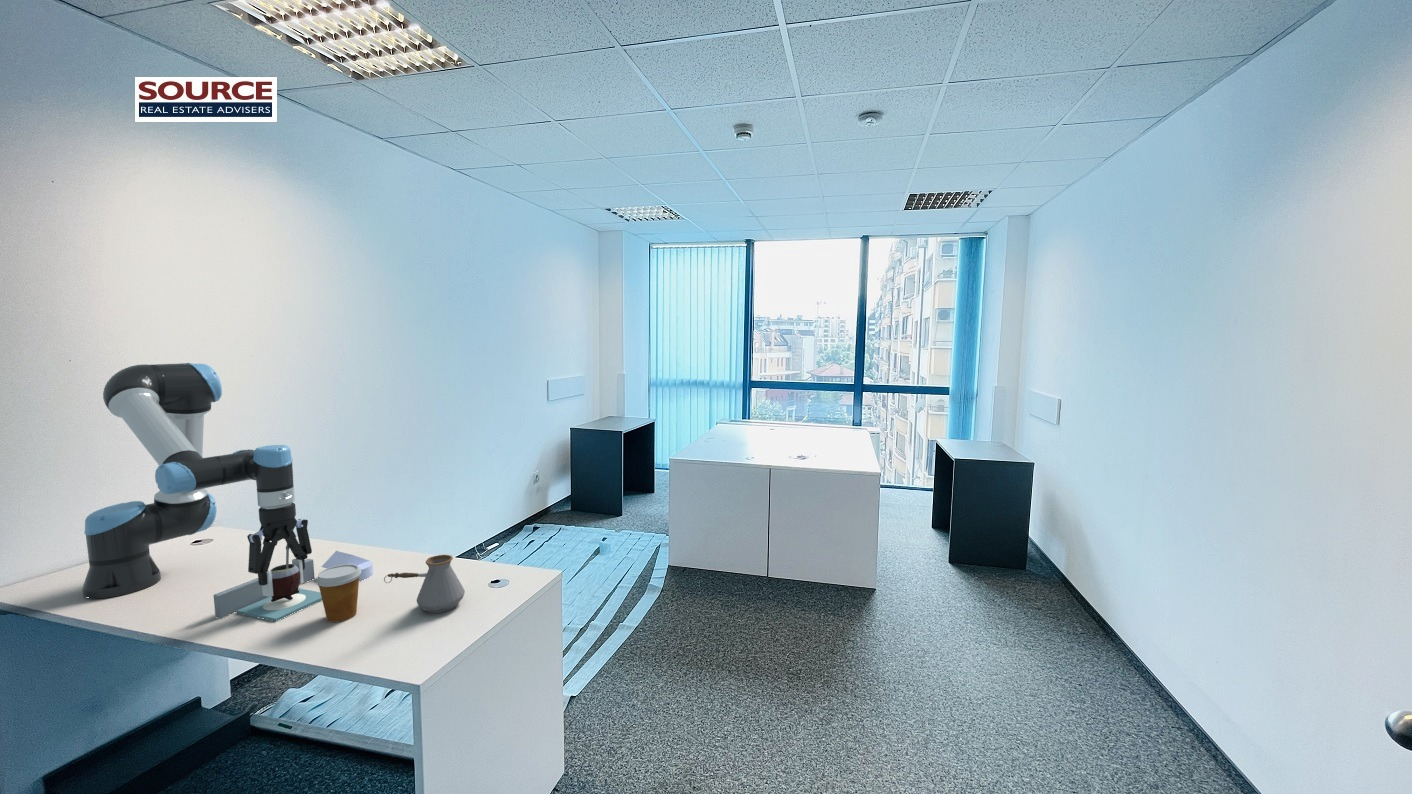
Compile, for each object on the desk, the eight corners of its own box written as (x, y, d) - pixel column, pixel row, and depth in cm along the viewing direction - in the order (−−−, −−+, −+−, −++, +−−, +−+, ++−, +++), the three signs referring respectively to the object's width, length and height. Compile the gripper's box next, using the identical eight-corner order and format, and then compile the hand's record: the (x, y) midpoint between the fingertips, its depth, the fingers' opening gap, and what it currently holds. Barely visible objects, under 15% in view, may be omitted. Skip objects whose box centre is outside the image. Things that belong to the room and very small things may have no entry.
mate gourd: (276, 605, 138) (271, 549, 136) (261, 598, 142) (257, 543, 140) (309, 593, 144) (304, 539, 143) (294, 587, 148) (290, 534, 147)
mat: (237, 613, 138) (236, 610, 138) (292, 589, 152) (292, 586, 152) (276, 621, 134) (275, 618, 134) (330, 596, 148) (329, 593, 148)
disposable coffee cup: (329, 629, 131) (326, 582, 129) (311, 619, 136) (308, 573, 134) (371, 613, 139) (368, 568, 137) (352, 603, 144) (349, 560, 143)
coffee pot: (441, 593, 150) (439, 541, 148) (474, 599, 146) (472, 546, 145) (371, 631, 130) (368, 572, 128) (408, 640, 126) (404, 578, 125)
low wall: (215, 617, 136) (213, 594, 136) (309, 578, 159) (308, 558, 159) (220, 618, 136) (218, 595, 135) (314, 579, 159) (313, 559, 158)
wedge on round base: (321, 577, 160) (349, 586, 154) (320, 555, 159) (347, 563, 154) (352, 566, 168) (379, 573, 162) (351, 545, 167) (378, 552, 162)
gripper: (244, 517, 130) (252, 608, 132) (324, 495, 149) (330, 575, 151) (223, 515, 132) (231, 604, 134) (304, 493, 151) (310, 572, 153)
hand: (283, 588), depth 143 cm, fingers closed on mate gourd, 7 cm apart
